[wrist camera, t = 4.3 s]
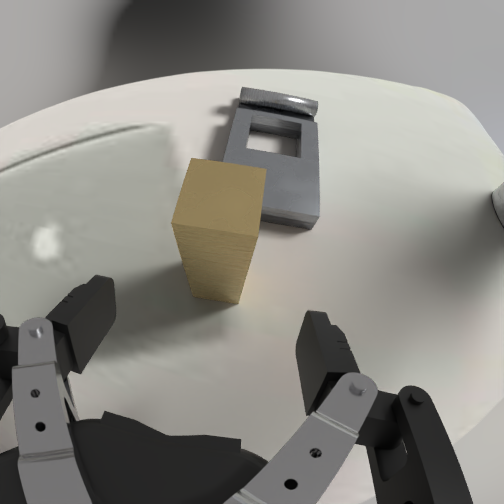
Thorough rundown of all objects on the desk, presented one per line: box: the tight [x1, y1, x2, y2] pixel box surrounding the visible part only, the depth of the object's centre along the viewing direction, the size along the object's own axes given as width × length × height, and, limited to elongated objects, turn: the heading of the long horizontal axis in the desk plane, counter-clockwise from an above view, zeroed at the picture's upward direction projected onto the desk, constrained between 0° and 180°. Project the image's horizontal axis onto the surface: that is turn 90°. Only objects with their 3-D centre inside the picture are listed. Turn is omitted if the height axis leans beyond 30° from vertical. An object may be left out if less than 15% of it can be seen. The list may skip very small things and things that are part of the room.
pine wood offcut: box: [171, 158, 267, 304], centre depth 18 cm, size 4×4×12 cm
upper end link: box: [223, 108, 320, 229], centre depth 27 cm, size 9×12×2 cm
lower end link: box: [238, 87, 318, 158], centre depth 29 cm, size 9×13×3 cm
